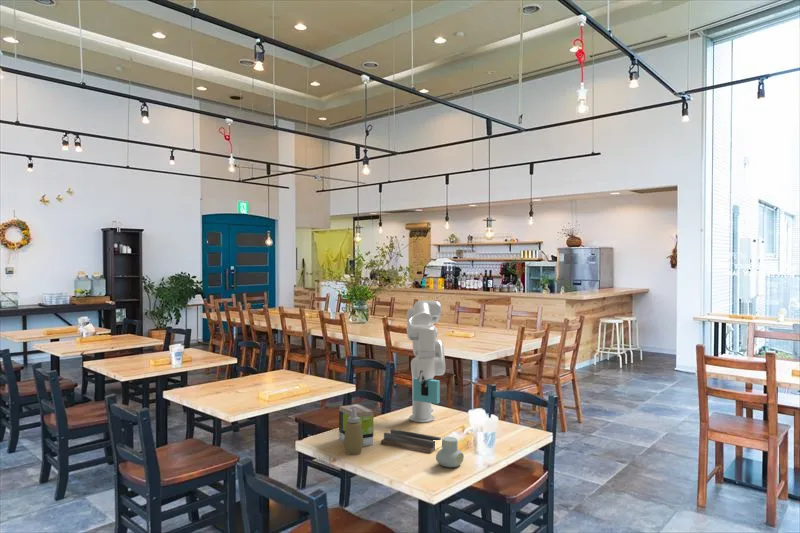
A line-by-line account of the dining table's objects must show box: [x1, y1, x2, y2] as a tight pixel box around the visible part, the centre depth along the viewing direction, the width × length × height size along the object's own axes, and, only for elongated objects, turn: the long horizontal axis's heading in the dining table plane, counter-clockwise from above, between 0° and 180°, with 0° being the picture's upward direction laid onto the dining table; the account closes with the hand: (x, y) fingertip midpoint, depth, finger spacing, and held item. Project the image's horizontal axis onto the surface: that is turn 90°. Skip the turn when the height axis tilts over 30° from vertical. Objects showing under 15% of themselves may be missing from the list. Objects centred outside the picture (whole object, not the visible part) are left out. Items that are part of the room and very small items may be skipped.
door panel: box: [413, 378, 441, 405], centre depth 240 cm, size 3×12×10 cm, turn 61°
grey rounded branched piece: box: [435, 436, 464, 468], centre depth 203 cm, size 11×8×10 cm
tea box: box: [338, 403, 375, 447], centre depth 230 cm, size 15×10×15 cm, turn 32°
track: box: [380, 428, 442, 454], centre depth 227 cm, size 12×24×4 cm, turn 61°
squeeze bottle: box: [343, 408, 364, 455], centre depth 217 cm, size 8×8×18 cm
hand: (426, 394), depth 240 cm, fingers closed on door panel, 3 cm apart
